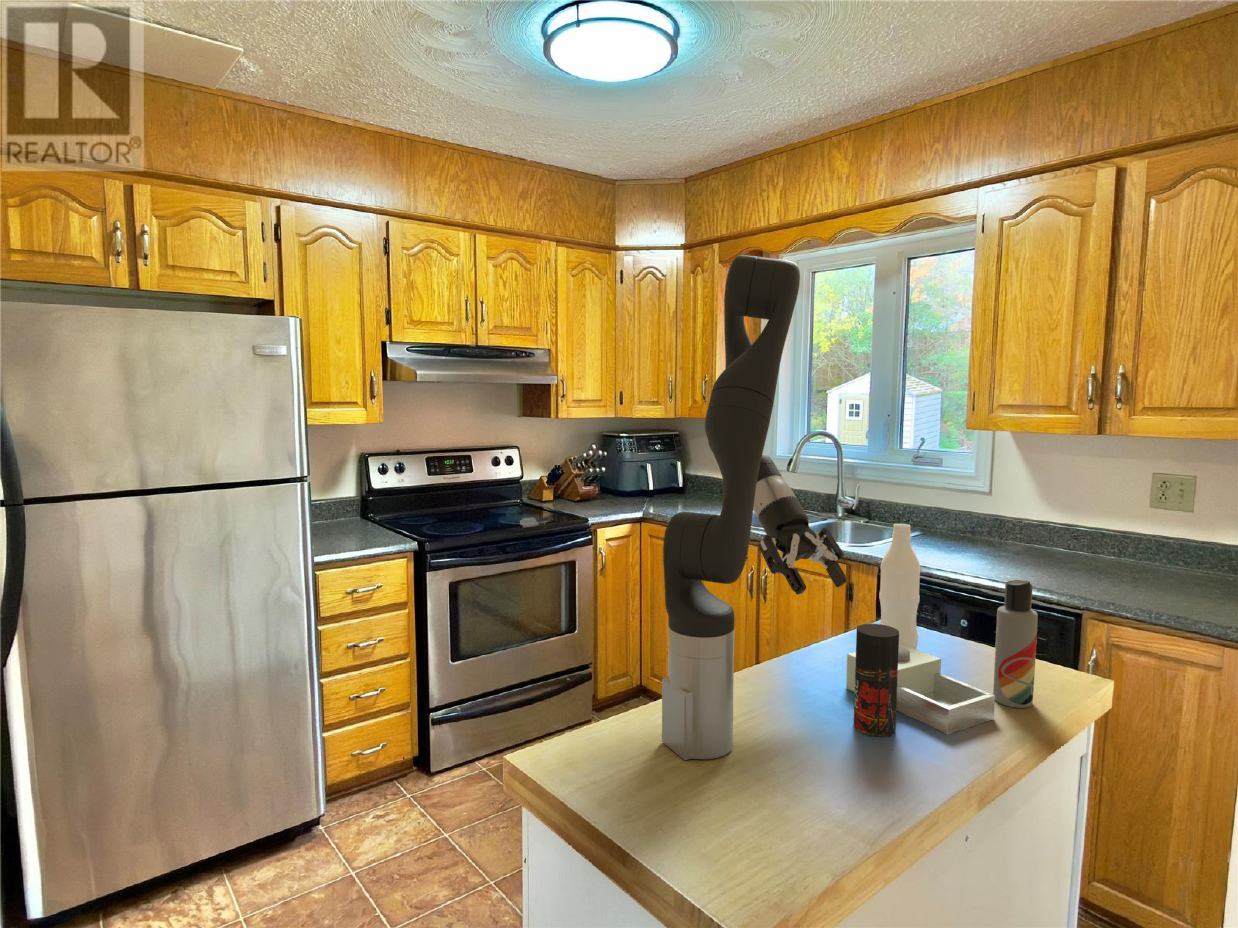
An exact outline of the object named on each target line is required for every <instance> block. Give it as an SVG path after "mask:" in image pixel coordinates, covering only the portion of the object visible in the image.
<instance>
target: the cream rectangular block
mask: <svg viewBox="0 0 1238 928" xmlns="http://www.w3.org/2000/svg"><path fill="white" fill-rule="evenodd" d="M846 657H847V658H846V679H845V680H846V683H845V684H846V687H845V689H847V690H849V691H851V692H854V693H855V666H856V651H854V652H850V653H846ZM941 665H942V658H941V657H940V658H939V657H937V656H934V655H933V654H929V653H926V652H923V651H921V650H918V649H917V648H916V649H914V648H911V647H908V646H906V645H903V644H900V643H899V650H898V676H897V684H898V685H900V686H902V687H905V688H907V689H909V690H911V691H914V692H916V693H918V694H925V693H928V692H931V691H934V673H940V674H942V673H941V670H942V666H941Z"/></svg>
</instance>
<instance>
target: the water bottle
mask: <svg viewBox="0 0 1238 928" xmlns="http://www.w3.org/2000/svg"><path fill="white" fill-rule="evenodd" d="M892 528H893V530H892V531H893V532H892V534H891V537H892V541H891V544H890V546H889V548H888V549H887V551H886V553H885V554H884V556H883V558H882V560H881V563H880V587H879V588H880V589H879V593H878V595H879V597H878V598H879V603H880V615H881V616H880V623H879V624H881V625H886V626H890V627H893V628H895V629H897V630H898V631H899V643H900V644H903V645H906V646H908V647H911V648H914V649H916V650H917V647H918V641H919V634H918V628H917V613H918V607H919V604H920V599H921V598H920V597H921V596H920V584H921V583H920V580H921V578H920V577H921V575H920V574H921V571H922V570H921V568H922V567H921V565H920V561H919V559H918V557H917V555H916V553H915V550H914V549H913V547H912V544H911V539H912V538H913V537H912V533H911V530H912V529H911V525H910V524H907V523H894V524H893V527H892Z"/></svg>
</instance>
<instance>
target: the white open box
mask: <svg viewBox="0 0 1238 928" xmlns="http://www.w3.org/2000/svg"><path fill="white" fill-rule="evenodd" d="M995 704H996V700H995V695H993V693H991V692H987V691H985V690H983V689H980V688H978V687H975V686H973V685H970V684H967V683H966V682H963V681H960V680H958V679H956V678H952V677H950V676H948V675H945V674H943V673H934V691H931V692H928V693H925V694H918V693H916V692H914V691H911V690H909V689H907V688H905V687H902V686H900V685H898V684H897V703H896V711H897V712H900V713H902V714H904V715H906V716H908V717H911V718H912V719H915V720H916V721H918V722H921V723H923V724H924V725H927V726H929V727H931V728H933V729H934V730H937V729H938V730H937V731H939V730H940V732H941V733H943V732H944V733H943V734H946V735H952V734H954V733H956V732H959V731H963V730H965V729H968V728H972V727H974V726H977V725H980V724H983V723H986V722H987V723H988V722H989V721H992V720H995ZM953 732H954V733H953Z"/></svg>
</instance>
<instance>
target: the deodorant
mask: <svg viewBox="0 0 1238 928" xmlns="http://www.w3.org/2000/svg"><path fill="white" fill-rule="evenodd" d="M855 635H856V638H855V639H856V642H855V644H856V646H855V652H856V666H855V692H854V700H853V703H854V704H853V705H854V706H853V727H854V729H855V730H857V731H858V732H860V733H862V734H864V735H867V736H871V737H875V738H876V737H878V738H883V737H884V738H885V737H889V736H893V735H895V733H896V729H897V728H896V725H897V724H896V723H897V721H896V720H897V710H896V703H897V676H898V650H899V631H898V630H897V629H895V628H893V627H890V626H886V625H881V624H880V623H879V624H878V623H863V624H858V626H856V634H855Z"/></svg>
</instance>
